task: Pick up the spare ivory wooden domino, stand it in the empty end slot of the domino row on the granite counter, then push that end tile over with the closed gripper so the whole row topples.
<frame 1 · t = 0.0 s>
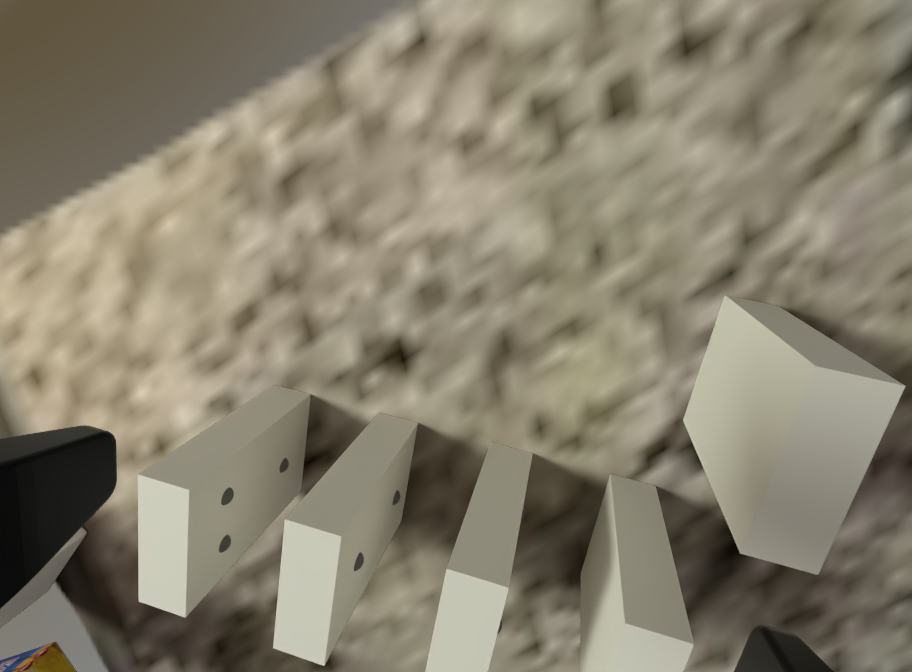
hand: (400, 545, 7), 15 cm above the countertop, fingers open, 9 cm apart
domino 5: (287, 438, 25), on the countertop
domino 4: (390, 467, 24), on the countertop
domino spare: (728, 365, 20), on the countertop
milk: (30, 525, 31), on the countertop
domino 3: (499, 498, 24), on the countertop
domino 2: (616, 531, 23), on the countertop
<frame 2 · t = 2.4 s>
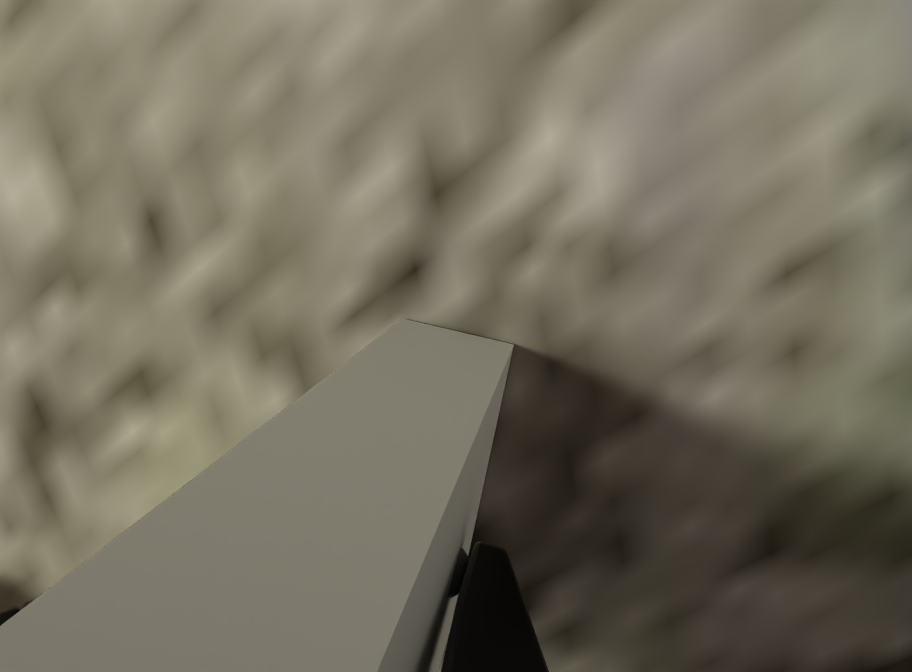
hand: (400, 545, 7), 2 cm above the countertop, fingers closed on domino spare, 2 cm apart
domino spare: (432, 469, 9), on the countertop, touching gripper
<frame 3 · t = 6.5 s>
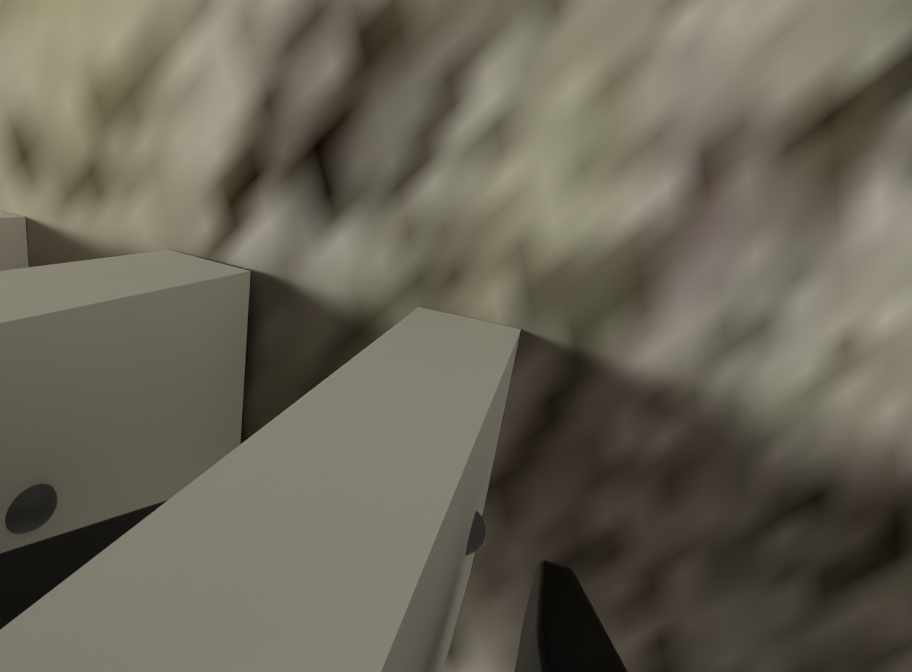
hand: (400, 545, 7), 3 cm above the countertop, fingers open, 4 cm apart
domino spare: (446, 447, 10), on the countertop
domino 2: (204, 384, 11), on the countertop, tilted 5°, touching gripper
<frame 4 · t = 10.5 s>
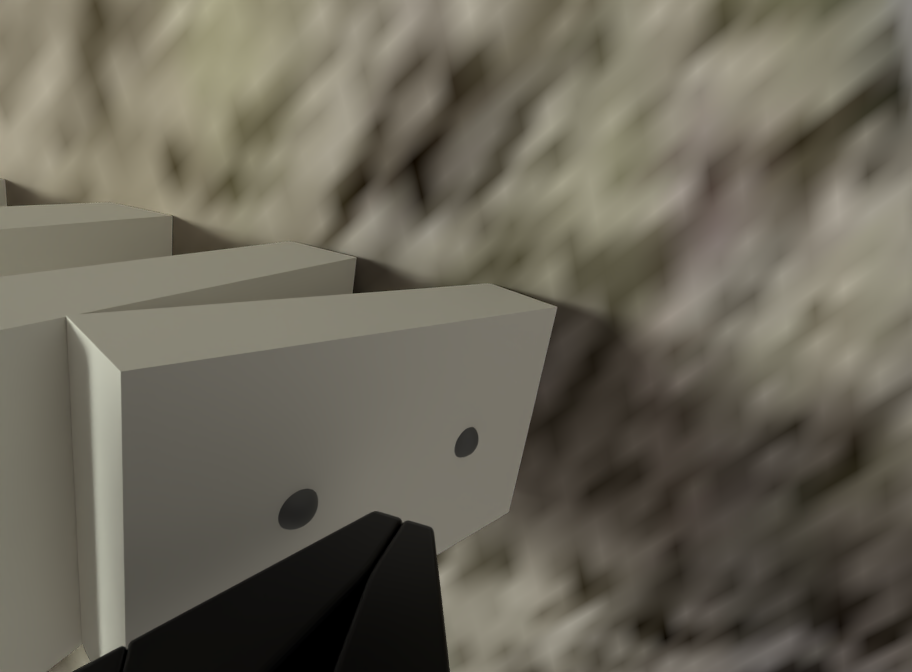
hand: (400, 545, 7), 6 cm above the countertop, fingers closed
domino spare: (499, 399, 13), on the countertop, tilted 30°
domino 3: (141, 304, 14), on the countertop
domino 2: (313, 348, 14), on the countertop, tilted 7°
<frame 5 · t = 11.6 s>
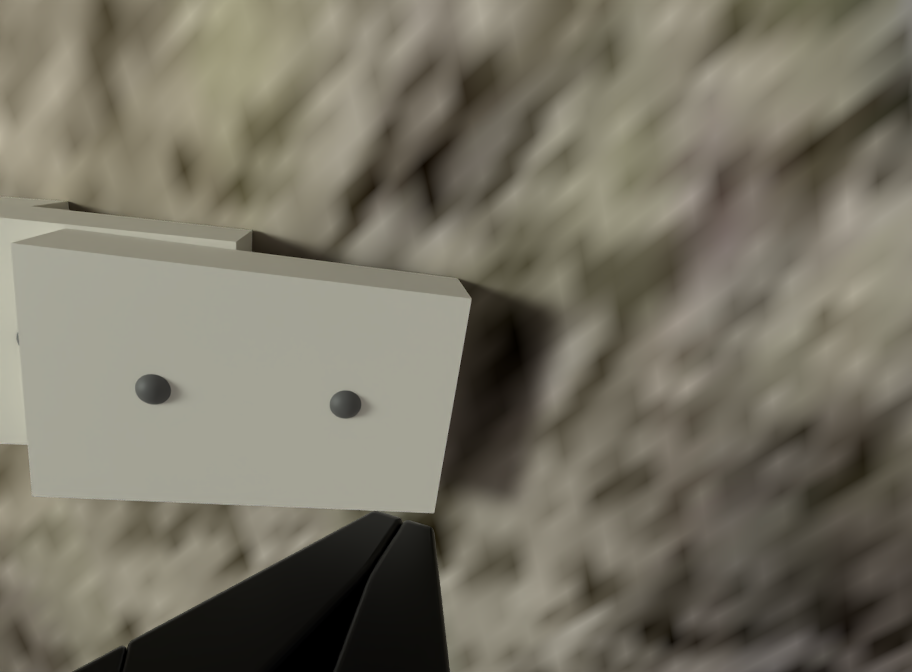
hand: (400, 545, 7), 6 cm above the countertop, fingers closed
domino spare: (445, 394, 12), point 1 cm above the countertop, tilted 69°, touching domino 2
domino 3: (61, 303, 14), point 1 cm above the countertop, tilted 68°, touching domino 2, domino 4
domino 2: (243, 340, 13), point 1 cm above the countertop, tilted 68°, touching domino 3, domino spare
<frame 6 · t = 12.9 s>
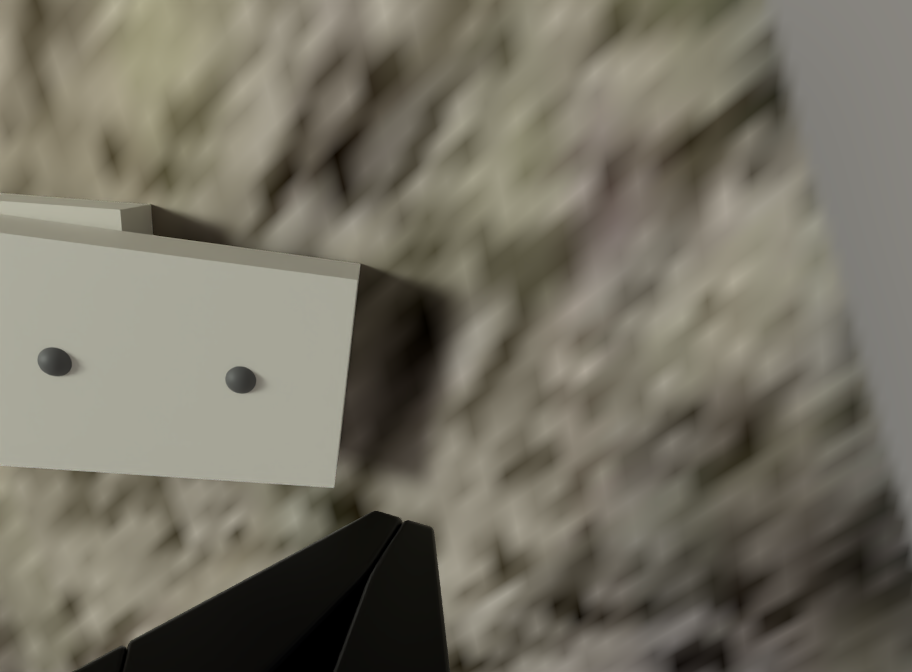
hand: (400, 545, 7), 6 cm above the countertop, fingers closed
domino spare: (347, 374, 13), point 1 cm above the countertop, tilted 70°, touching domino 2
domino 2: (144, 308, 14), point 1 cm above the countertop, tilted 69°, touching domino 3, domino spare
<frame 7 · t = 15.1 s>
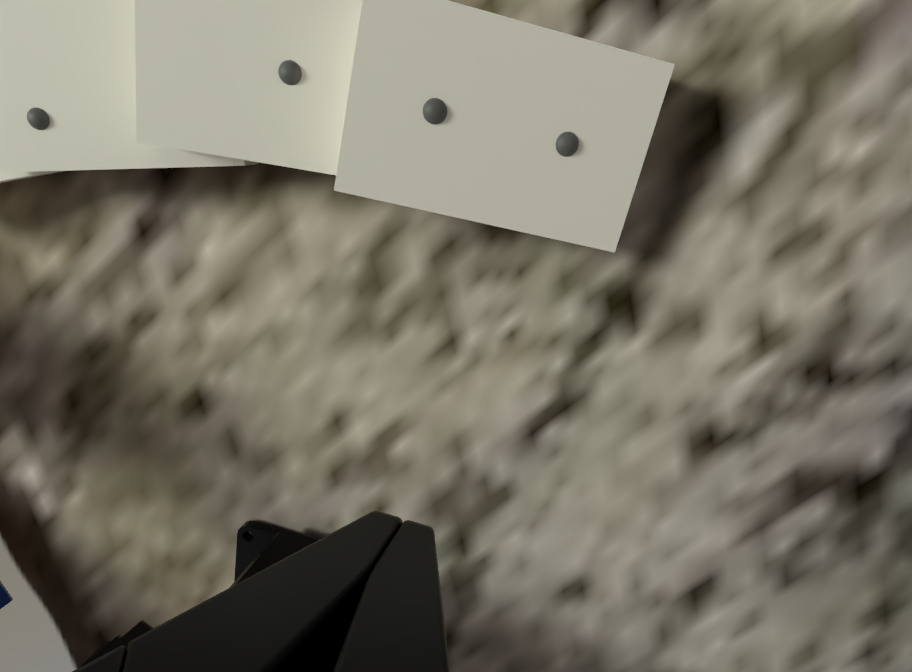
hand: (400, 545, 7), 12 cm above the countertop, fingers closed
domino 4: (52, 91, 19), point 1 cm above the countertop, tilted 74°
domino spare: (630, 162, 16), point 1 cm above the countertop, tilted 72°, touching domino 2
domino 3: (240, 82, 17), point 1 cm above the countertop, tilted 72°, touching domino 2
domino 2: (431, 102, 16), point 1 cm above the countertop, tilted 72°, touching domino 3, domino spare
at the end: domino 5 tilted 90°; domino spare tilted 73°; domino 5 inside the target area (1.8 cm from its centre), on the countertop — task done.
